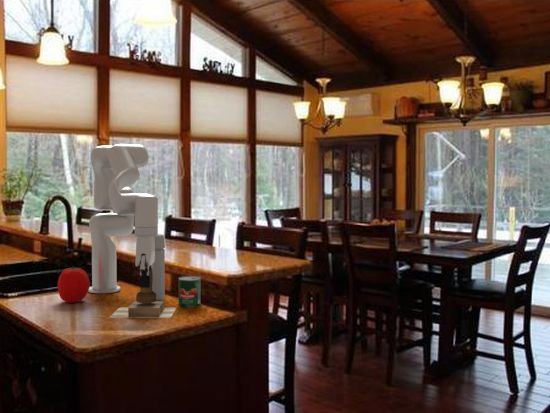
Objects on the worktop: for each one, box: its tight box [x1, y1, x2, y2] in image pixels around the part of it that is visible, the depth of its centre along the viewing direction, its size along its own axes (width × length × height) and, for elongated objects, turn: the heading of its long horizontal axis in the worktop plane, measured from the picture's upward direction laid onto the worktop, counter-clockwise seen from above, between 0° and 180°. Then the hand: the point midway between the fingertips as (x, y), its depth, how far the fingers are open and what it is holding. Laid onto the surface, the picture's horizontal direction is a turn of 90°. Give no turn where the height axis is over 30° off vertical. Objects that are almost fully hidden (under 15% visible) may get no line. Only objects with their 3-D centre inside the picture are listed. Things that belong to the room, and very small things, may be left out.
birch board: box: [108, 306, 177, 319], centre depth 191 cm, size 14×20×1 cm
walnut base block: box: [128, 300, 165, 317], centre depth 190 cm, size 10×10×3 cm
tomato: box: [57, 266, 91, 304], centre depth 209 cm, size 12×12×13 cm
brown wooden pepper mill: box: [135, 263, 157, 303], centre depth 189 cm, size 7×6×18 cm
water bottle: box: [152, 233, 166, 301], centre depth 213 cm, size 9×8×25 cm
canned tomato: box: [178, 275, 202, 309], centre depth 202 cm, size 8×8×11 cm
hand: (146, 285), depth 189 cm, fingers closed on brown wooden pepper mill, 4 cm apart
